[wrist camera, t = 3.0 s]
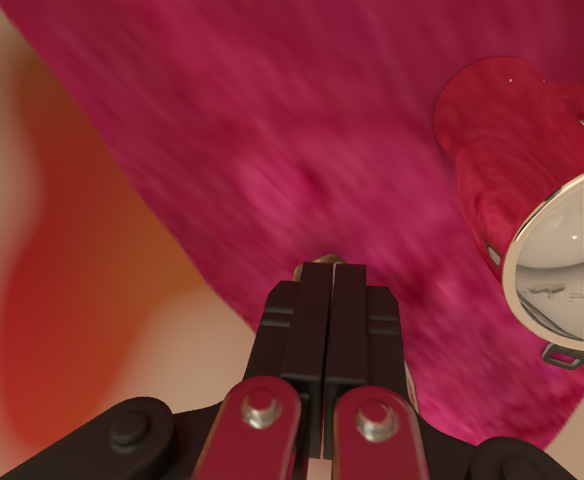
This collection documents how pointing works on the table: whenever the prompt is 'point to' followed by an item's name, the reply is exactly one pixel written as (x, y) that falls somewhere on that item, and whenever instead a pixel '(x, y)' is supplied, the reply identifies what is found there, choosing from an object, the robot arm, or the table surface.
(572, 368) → the strap clip
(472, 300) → the table surface
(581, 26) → the table surface
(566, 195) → the beer glass
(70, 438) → the robot arm
